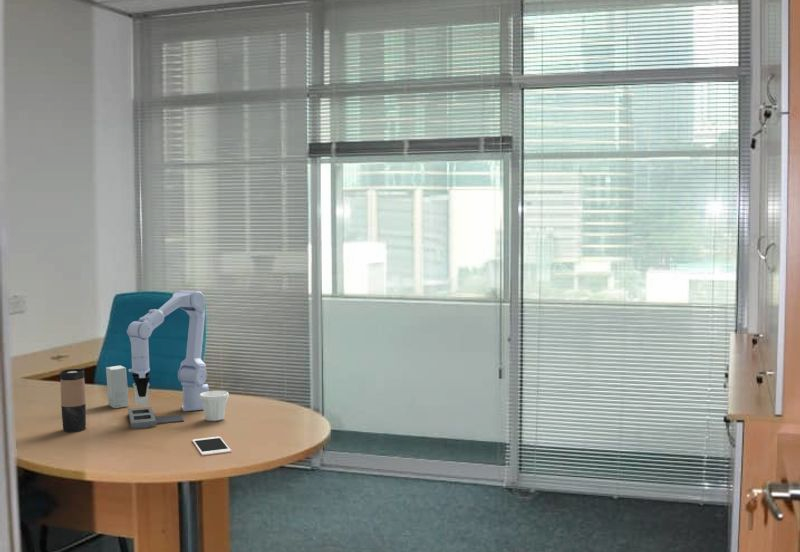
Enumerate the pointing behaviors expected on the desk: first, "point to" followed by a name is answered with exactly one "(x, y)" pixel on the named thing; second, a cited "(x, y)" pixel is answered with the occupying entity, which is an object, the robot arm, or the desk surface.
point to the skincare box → (117, 386)
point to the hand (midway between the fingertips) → (141, 395)
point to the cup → (214, 404)
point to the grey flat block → (141, 417)
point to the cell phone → (211, 446)
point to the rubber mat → (169, 419)
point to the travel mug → (73, 400)
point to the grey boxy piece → (141, 399)
